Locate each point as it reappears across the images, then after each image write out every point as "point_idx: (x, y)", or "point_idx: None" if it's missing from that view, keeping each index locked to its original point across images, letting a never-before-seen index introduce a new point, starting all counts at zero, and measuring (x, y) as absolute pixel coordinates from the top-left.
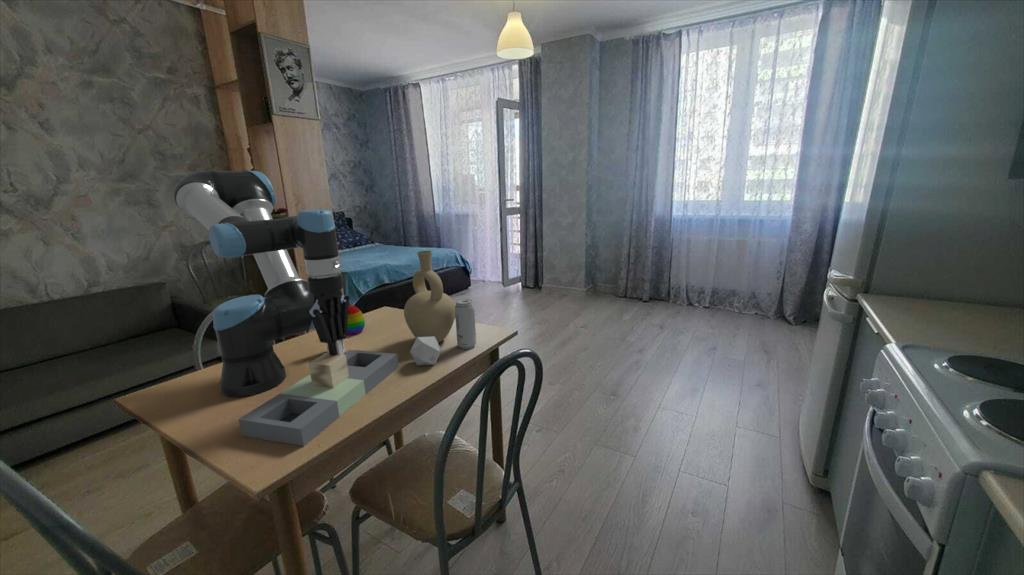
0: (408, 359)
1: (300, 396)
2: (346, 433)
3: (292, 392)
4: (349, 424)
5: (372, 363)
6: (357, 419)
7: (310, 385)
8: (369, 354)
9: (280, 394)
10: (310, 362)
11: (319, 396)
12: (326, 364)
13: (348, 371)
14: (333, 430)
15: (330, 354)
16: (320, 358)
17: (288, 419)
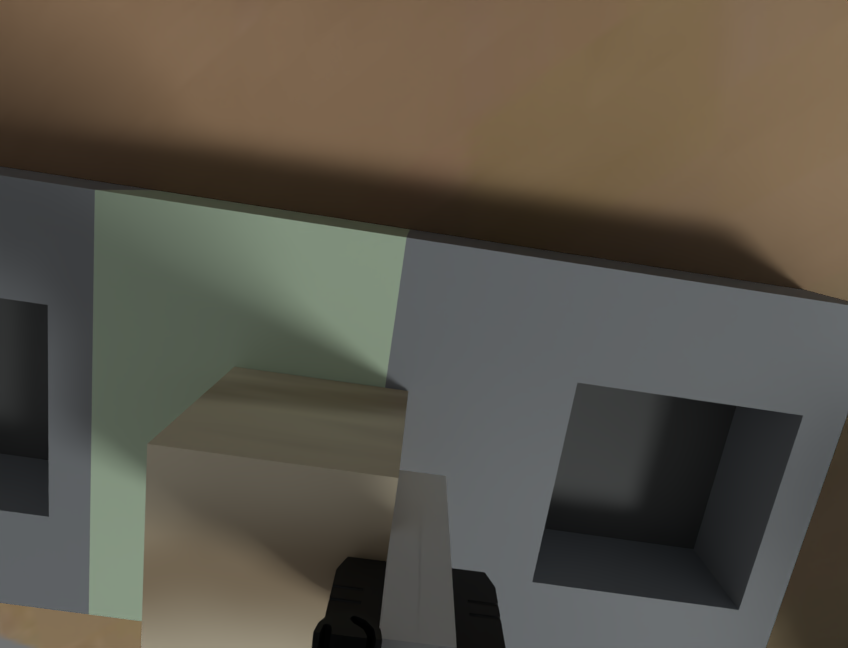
0: (802, 641)
1: (88, 370)
2: (27, 639)
3: (126, 278)
4: (91, 621)
5: (594, 602)
6: (136, 636)
7: (235, 349)
8: (767, 509)
9: (81, 208)
10: (169, 452)
11: (113, 491)
12: (154, 618)
13: (463, 501)
14: None
15: (347, 561)
16: (267, 499)
17: (45, 315)
